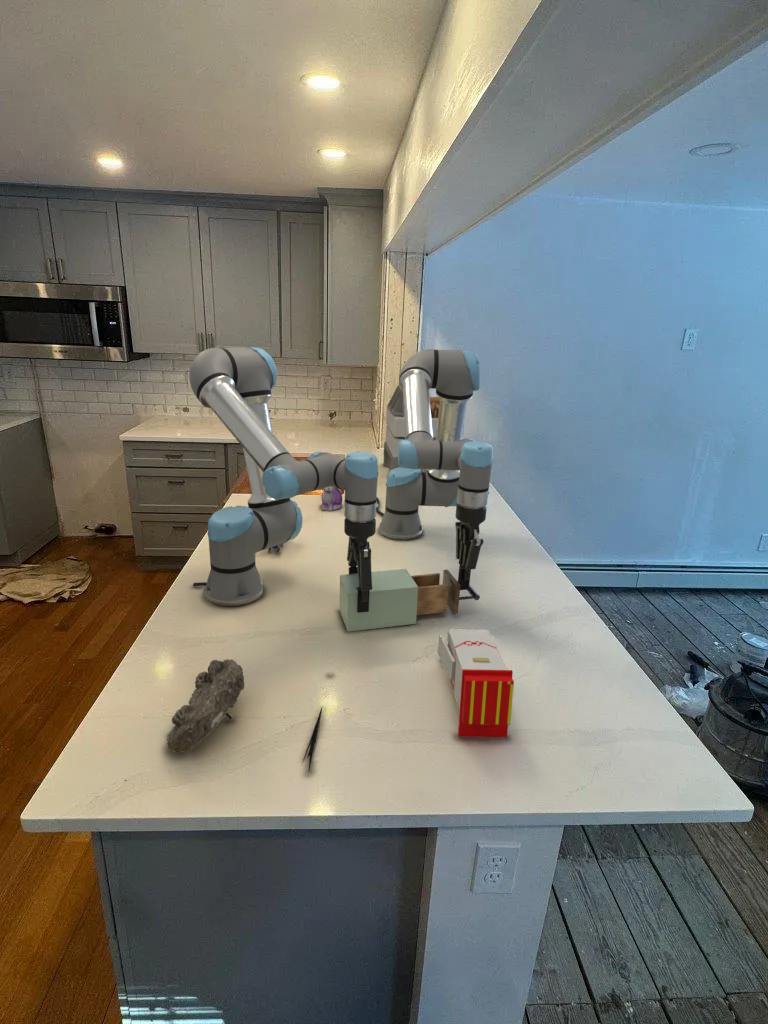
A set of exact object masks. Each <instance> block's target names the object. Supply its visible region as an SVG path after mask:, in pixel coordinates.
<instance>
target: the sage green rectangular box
mask: <svg viewBox="0 0 768 1024" xmlns="http://www.w3.org/2000/svg"><path fill="white" fill-rule="evenodd" d="M371 574H372V590H369V612H361V613H358V612H357V599H358V590H356V587H359V580H358V573H356V574H349V573H347V574H346V573H345V574H340V575H339V612H340V615H341V618H342V621H343V623H344V626H345V629H346V630H347V632H357V631H358V632H359V631H365V630H375V629H383V628H391V627H400V626H409V625H416V624H417V618H418V617H417V616H418V615H417V598H418V586H417V585H416V583H415V582H414V580H413V579H412V577H411V576H412V575H411V574H410V573H409V571H408V570H407V568H400V569H389V570H377V571H371Z"/></svg>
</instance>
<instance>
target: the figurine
mask: <svg viewBox="0 0 768 1024" xmlns="http://www.w3.org/2000/svg"><path fill="white" fill-rule="evenodd" d="M321 490H323V491H322V493H321V497H320V498H321V504H320V505H321V506H320V507H321V510H323V511H335V510H338V509H340V508H342V505H343V495H342V492H341V491H340V490H341V489H338V488H335V487H326V488H322V489H321Z"/></svg>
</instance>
